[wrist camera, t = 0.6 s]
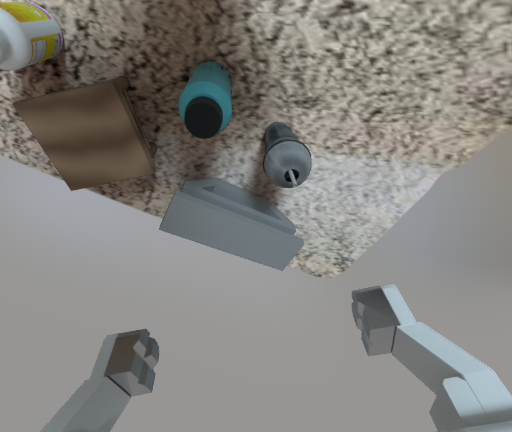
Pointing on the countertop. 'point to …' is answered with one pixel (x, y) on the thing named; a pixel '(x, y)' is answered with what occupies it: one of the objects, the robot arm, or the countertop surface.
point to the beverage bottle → (206, 100)
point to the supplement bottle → (27, 35)
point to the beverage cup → (285, 157)
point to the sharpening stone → (232, 222)
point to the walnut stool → (90, 133)
